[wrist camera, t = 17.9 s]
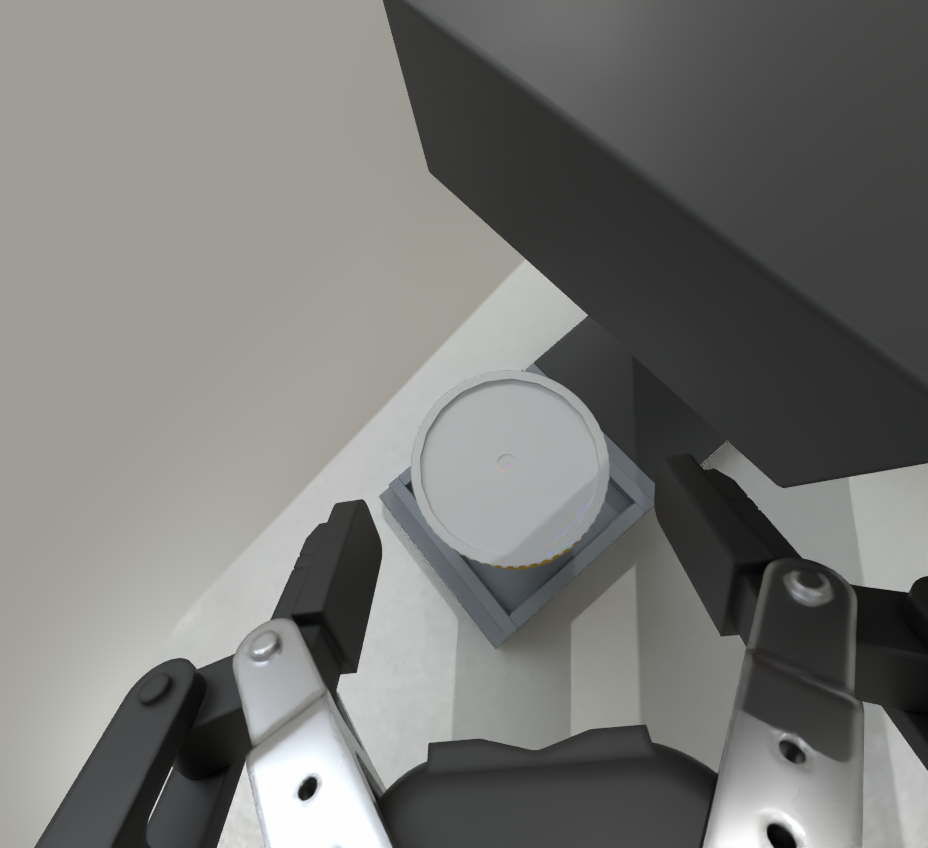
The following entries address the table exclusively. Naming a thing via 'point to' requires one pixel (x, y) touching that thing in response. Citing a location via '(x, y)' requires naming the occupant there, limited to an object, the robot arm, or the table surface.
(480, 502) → the bottle
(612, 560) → the table surface
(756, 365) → the coffee maker
